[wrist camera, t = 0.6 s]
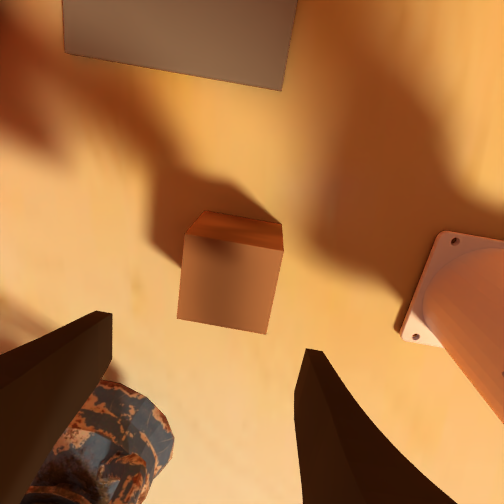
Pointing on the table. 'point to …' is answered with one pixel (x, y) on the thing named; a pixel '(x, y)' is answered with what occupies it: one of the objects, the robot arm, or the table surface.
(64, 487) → the lantern
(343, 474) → the robot arm
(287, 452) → the table surface
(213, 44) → the rubber mat
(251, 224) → the walnut cube
